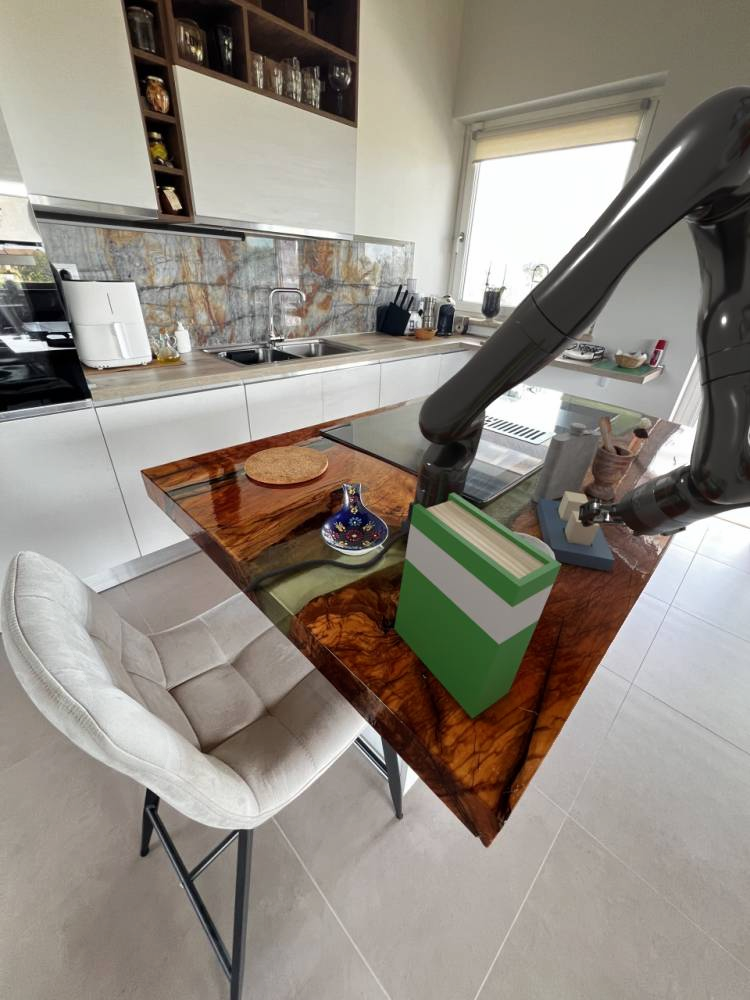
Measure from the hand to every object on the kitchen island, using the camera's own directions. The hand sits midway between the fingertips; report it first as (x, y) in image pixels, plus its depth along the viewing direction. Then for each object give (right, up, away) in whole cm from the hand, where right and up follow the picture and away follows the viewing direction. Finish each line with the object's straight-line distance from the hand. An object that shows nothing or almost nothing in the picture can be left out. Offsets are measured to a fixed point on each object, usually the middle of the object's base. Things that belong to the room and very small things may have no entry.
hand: (609, 526), depth 74 cm
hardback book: (-31, -20, -11) cm, 38 cm away
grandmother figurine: (+45, +20, +67) cm, 83 cm away
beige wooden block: (+3, -2, +24) cm, 25 cm away
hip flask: (+6, +6, +37) cm, 38 cm away
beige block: (+2, -6, +17) cm, 18 cm away
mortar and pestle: (+19, +7, +41) cm, 46 cm away
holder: (+2, -4, +21) cm, 21 cm away
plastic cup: (-19, -14, +1) cm, 23 cm away
